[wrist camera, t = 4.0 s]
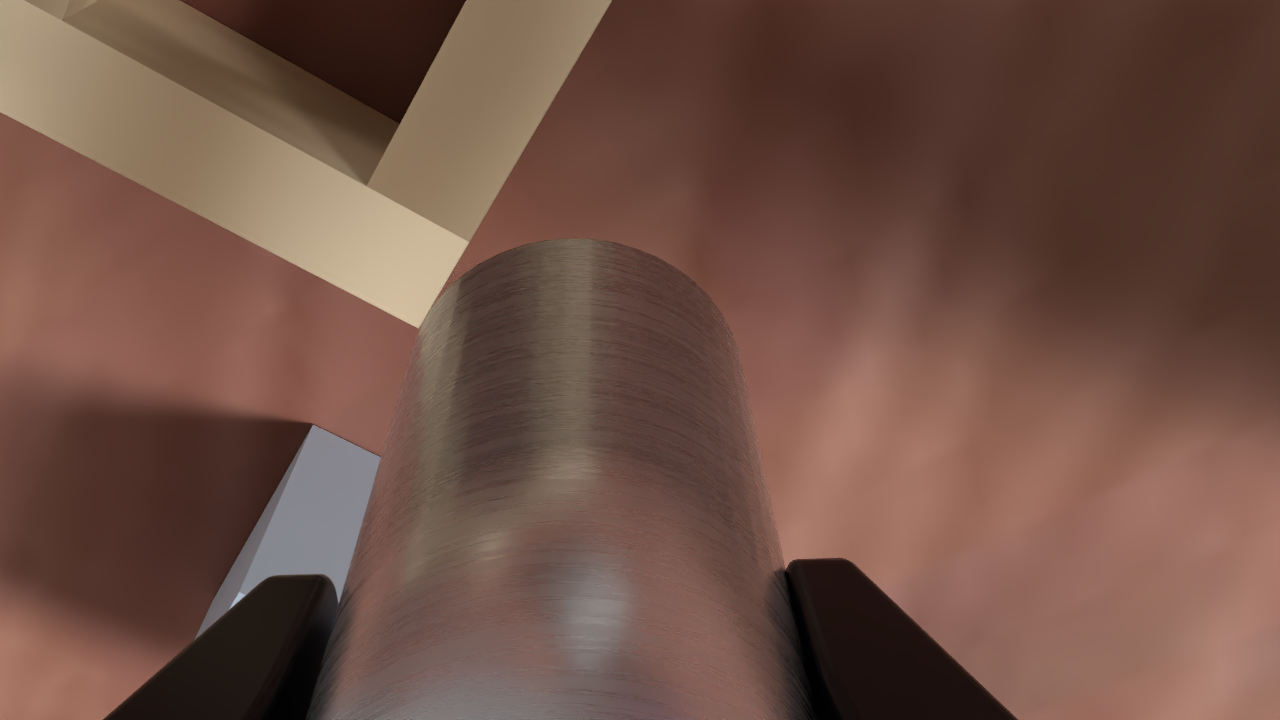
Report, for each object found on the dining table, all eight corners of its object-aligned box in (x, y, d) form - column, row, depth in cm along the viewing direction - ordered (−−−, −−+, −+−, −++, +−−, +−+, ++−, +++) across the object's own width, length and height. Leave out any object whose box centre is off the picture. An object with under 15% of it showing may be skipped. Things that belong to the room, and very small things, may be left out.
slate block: (540, 534, 25) (521, 715, 20) (428, 693, 27) (388, 889, 22) (313, 424, 23) (238, 592, 19) (213, 600, 25) (125, 789, 21)
